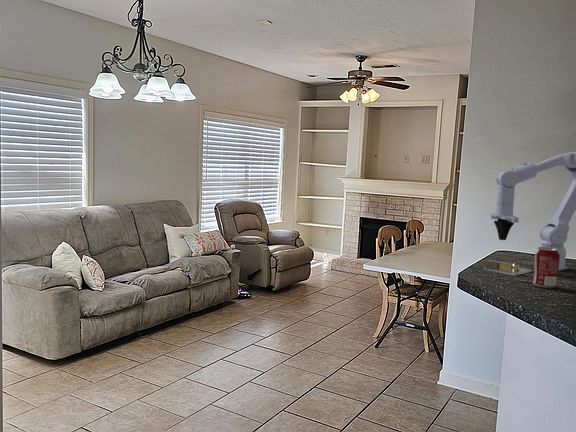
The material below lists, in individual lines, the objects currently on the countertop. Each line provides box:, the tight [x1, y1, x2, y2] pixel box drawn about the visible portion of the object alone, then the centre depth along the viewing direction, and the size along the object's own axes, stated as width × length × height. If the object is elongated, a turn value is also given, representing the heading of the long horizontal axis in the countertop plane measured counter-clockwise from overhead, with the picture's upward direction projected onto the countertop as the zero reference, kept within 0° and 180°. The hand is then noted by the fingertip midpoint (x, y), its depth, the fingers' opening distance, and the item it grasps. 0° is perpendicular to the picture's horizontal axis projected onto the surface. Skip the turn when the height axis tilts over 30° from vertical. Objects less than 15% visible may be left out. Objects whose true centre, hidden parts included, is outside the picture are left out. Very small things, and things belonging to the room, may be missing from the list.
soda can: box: [532, 246, 560, 289], centre depth 158 cm, size 7×7×12 cm
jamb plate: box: [482, 266, 534, 277], centre depth 182 cm, size 13×12×1 cm
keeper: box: [485, 260, 507, 272], centre depth 181 cm, size 4×7×2 cm, turn 41°
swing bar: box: [486, 259, 521, 272], centre depth 179 cm, size 11×2×3 cm, turn 43°
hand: (502, 239), depth 190 cm, fingers closed
